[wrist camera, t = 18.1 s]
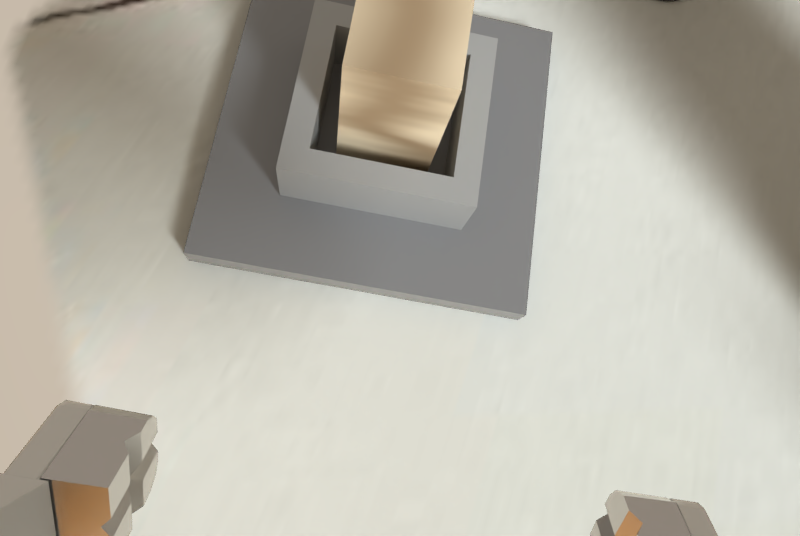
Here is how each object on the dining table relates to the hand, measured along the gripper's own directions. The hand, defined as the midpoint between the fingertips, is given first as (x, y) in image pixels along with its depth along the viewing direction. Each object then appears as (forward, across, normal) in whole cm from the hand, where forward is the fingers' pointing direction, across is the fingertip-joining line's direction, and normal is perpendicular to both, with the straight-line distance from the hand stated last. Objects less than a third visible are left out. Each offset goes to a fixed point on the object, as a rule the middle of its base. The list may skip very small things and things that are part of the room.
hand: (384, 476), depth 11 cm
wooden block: (+22, +1, 0) cm, 22 cm away
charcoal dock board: (+23, +1, +1) cm, 23 cm away
